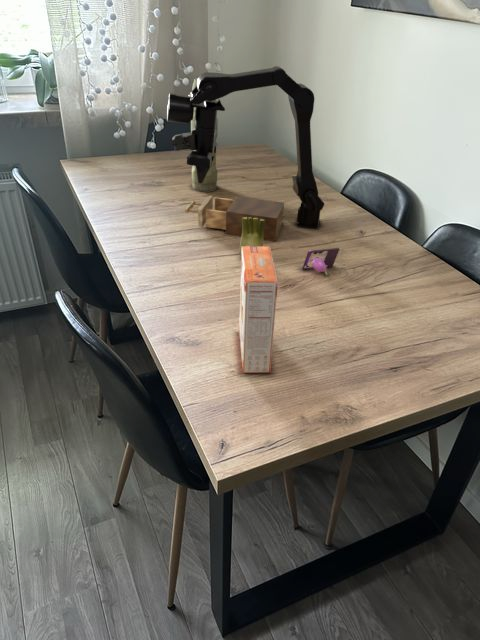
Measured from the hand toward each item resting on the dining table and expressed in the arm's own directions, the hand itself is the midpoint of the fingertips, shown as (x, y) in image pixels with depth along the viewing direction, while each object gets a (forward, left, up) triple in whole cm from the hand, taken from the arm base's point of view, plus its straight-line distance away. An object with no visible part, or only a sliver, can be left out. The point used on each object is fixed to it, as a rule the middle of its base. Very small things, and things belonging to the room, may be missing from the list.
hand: (200, 182), depth 146 cm
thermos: (+8, -33, -13) cm, 36 cm away
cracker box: (-29, +58, -13) cm, 66 cm away
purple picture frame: (-39, +18, -13) cm, 45 cm away
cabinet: (-16, -3, -13) cm, 21 cm away
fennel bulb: (-19, +17, -13) cm, 29 cm away
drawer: (-5, -3, -12) cm, 14 cm away
